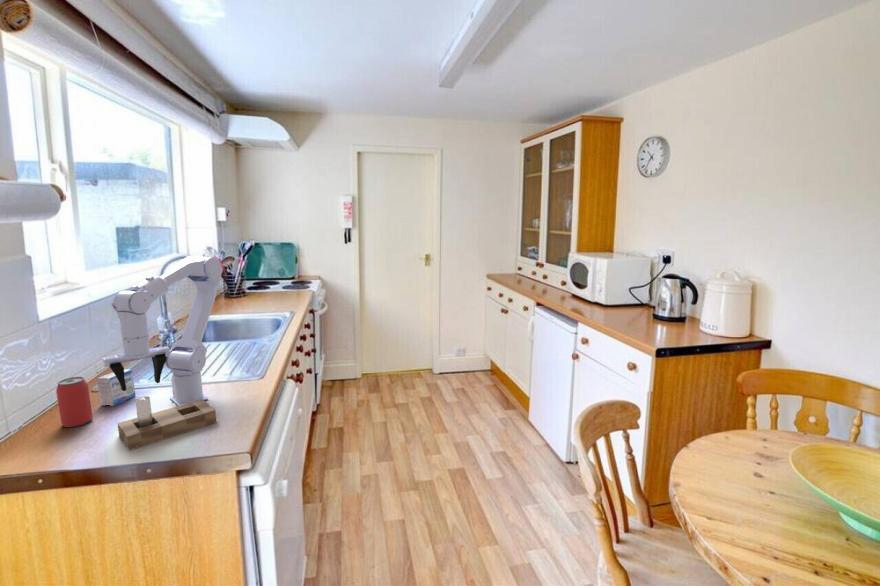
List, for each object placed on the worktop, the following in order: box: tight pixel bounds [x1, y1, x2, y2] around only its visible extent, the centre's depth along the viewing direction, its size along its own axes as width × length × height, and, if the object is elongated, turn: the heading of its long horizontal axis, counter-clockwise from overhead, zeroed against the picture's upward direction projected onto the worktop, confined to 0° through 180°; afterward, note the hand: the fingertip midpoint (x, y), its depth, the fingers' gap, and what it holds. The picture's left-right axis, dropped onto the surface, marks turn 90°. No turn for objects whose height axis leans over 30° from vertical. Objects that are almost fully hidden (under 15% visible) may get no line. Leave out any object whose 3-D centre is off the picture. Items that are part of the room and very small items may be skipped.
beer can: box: [55, 376, 94, 428], centre depth 120 cm, size 7×7×12 cm
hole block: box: [116, 400, 217, 451], centre depth 117 cm, size 10×20×4 cm, turn 136°
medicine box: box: [96, 368, 136, 407], centre depth 134 cm, size 8×4×9 cm, turn 168°
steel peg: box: [135, 395, 153, 428], centre depth 113 cm, size 3×3×10 cm
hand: (141, 385), depth 119 cm, fingers open, 7 cm apart
